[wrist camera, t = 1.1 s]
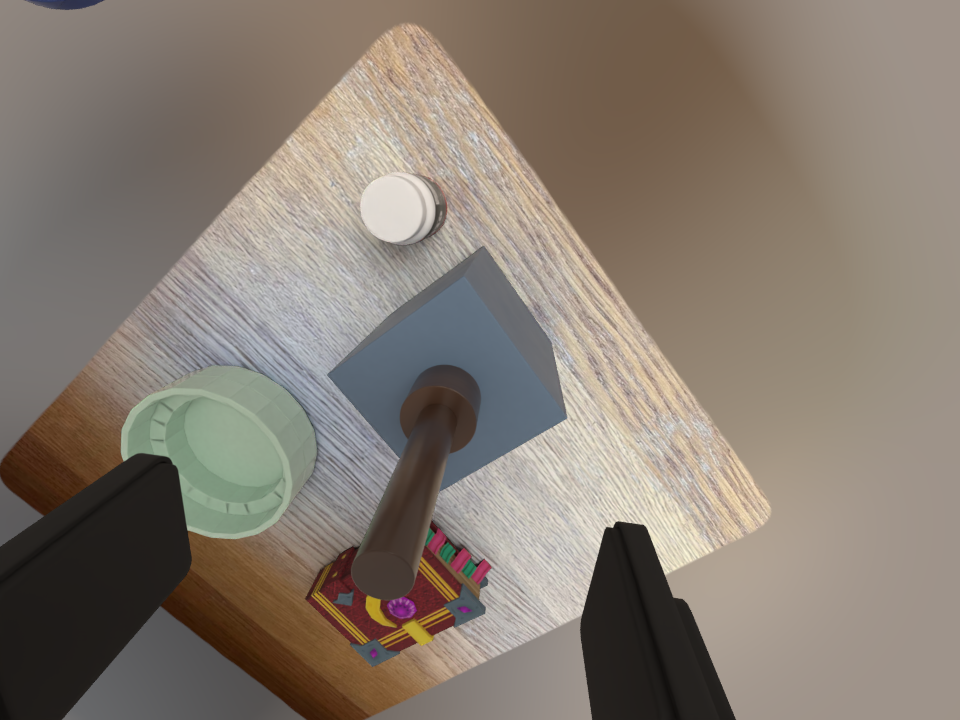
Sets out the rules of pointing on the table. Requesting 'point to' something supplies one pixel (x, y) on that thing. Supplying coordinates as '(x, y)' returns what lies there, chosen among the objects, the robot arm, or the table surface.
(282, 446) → the bowl
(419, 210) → the pill bottle
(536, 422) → the stand
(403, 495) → the brown wooden handle
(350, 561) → the decorative book
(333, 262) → the table surface
